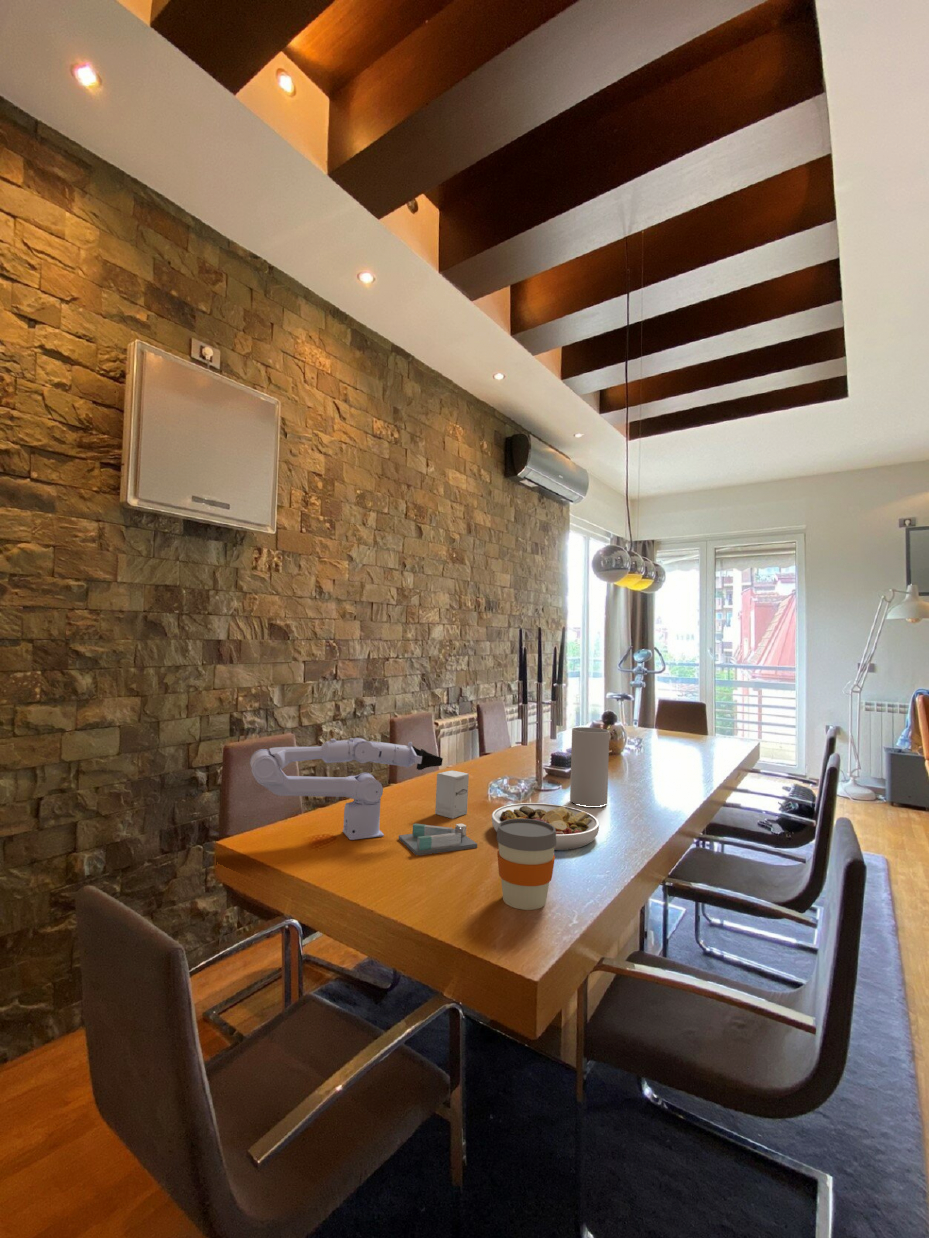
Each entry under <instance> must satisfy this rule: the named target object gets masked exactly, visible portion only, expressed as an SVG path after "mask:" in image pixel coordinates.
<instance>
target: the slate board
mask: <svg viewBox="0 0 929 1238" xmlns="http://www.w3.org/2000/svg"><path fill="white" fill-rule="evenodd" d="M452 833H455V828H452ZM412 835H413V833H408V834H407V833H406V834H398V840H399V841H400V842H401V843H402V842H403V843H402V844H403V845H404V846H405V845H406V846H407V847H406V848H407V849H408V850H410V852H412V853H413V854H414V856H416V855H419V856H425V854H426V855H433V854H432V853H434V854H440V853H439V852H441V853H445V852H447V853H448V852H455V851H461V850H469V849H476V848H478V843H477V842H476V841H474V840H473V839H471V837H468V836H467V834H466V835H463V839H462V843H461V845H456V846H448V847H441V848H433V849H426V850H418V849H417V840H418V837H416V836H412Z"/></svg>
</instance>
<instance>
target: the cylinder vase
mask: <svg viewBox="0 0 929 1238" xmlns="http://www.w3.org/2000/svg"><path fill="white" fill-rule="evenodd" d="M609 749H610V730H608V729H605V728H598V727H589V726H588V727H584V726H583V727H582V726H581V727H572V728H571V754H570V755H571V756H570V758H571V759H570V783H569V784H570V786H569V787H570V788H569V790H570V792H569V801H570V802H571V803H572V802H573V803H575V804H580V805H586V806H600V805H604V804H607V805H608V798H609V797H608V794H609V793H608V792H609V791H608V790H609V789H608V788H609V756H610V754H609V753H610V750H609ZM573 803H572V804H573ZM575 804H574V805H575Z"/></svg>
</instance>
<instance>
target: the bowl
mask: <svg viewBox="0 0 929 1238" xmlns="http://www.w3.org/2000/svg"><path fill="white" fill-rule="evenodd" d="M491 813H492V814H491V822H492V823H491V824H492V826H493V829H494V831H495V832H496V833H497V831H498V825H499V823H500V822H502V821H504V820H508V819H534V820H539V821H543V822H546V823H549V824H551V825H553V826H554V827H555V829H556V841H557V844H556V846H555V847H554V851H566V850H567V849H568V850H574V849H579V848H581V847H584V846H587V845H588V844H590V843H592V842H593V841H594V840H595V838H597V836H598V833H599V831H600V822H599V819H598V818H596V816H594V815H593V814H591V813H589V812H586V811H584V810H581V809H577V808H575V807H571V806H566V805H560V804H552V803H543V802H542V803H541V802H539V803H538V802H525V803H513V804H507V805H503V806H501V807H499V808H496V809H495V810H493V812H491Z"/></svg>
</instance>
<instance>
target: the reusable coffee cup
mask: <svg viewBox="0 0 929 1238" xmlns="http://www.w3.org/2000/svg"><path fill="white" fill-rule="evenodd" d="M496 841H497V843H498V845H497V846H498V850H497V854H496V855H497V866H498V867H497V868H498V875H499V878H500V879H501V890H502V900H503V902H504V903H505V904H506V905H507V906H509V907H511V908H514V909H517V910H518V909H519V910H524V911H530V910H531V911H533V910H538V909H541V908H543V907H544V906H545V905H546V903H547V898H548V893H549V885H550V882H551V881H552V879H553V874H554V866H555V860H556V856H555V850H554V847H555V846H556V844H557V841H556V829H555V827H554V826H553V825H551V824H549V823H546V822H543V821H539V820H534V819H508V820H504V821H502V822H500V823H499V825H498V831H497V832H496Z"/></svg>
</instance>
